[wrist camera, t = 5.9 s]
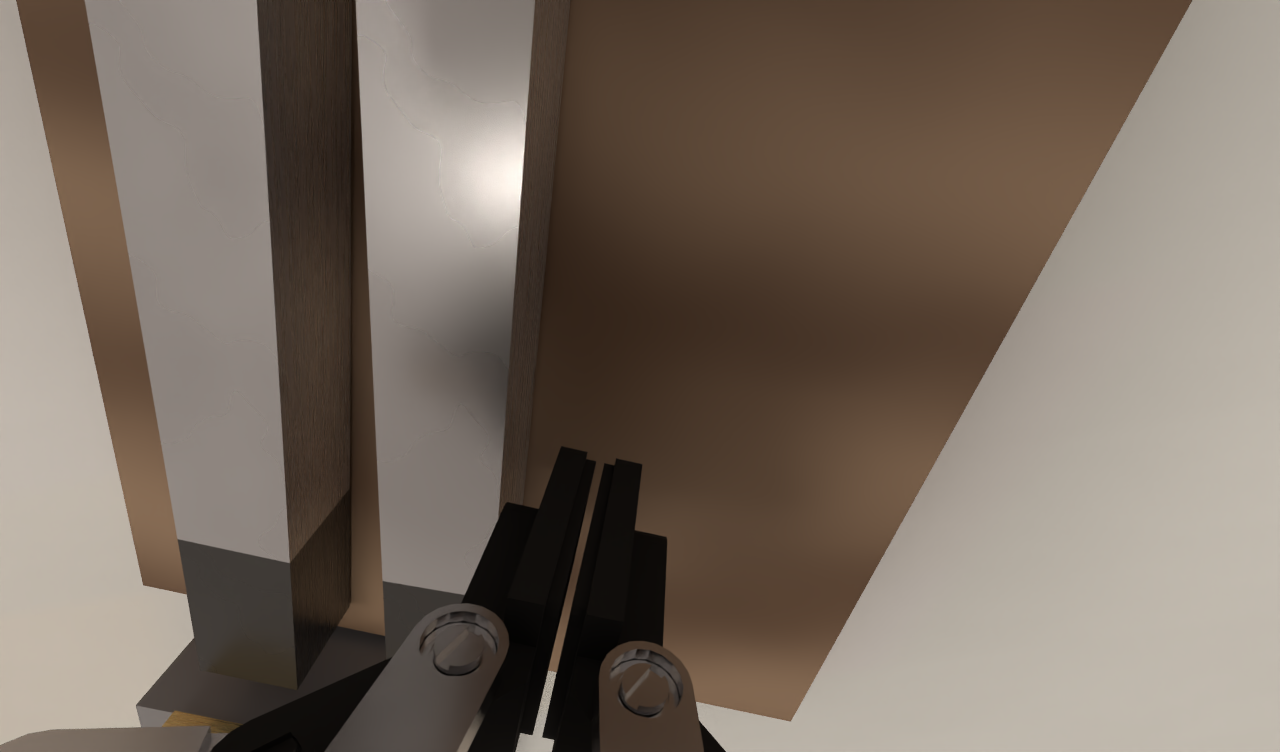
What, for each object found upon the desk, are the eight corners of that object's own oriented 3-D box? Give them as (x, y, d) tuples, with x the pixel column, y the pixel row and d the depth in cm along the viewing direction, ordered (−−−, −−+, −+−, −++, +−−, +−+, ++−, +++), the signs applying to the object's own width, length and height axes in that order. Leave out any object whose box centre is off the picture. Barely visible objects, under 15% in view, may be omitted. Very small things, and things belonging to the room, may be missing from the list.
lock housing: (243, 580, 17) (135, 705, 14) (517, 638, 18) (478, 774, 14) (258, 716, 20) (172, 846, 17) (493, 764, 21) (455, 901, 17)
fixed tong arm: (170, -519, 7) (-49, -769, 5) (354, -465, 7) (217, -688, 5) (266, 588, 16) (200, 670, 14) (349, 606, 16) (297, 690, 14)
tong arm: (215, -1111, 6) (-217, -2202, 3) (665, -1014, 6) (648, -1997, 3) (352, 608, 16) (285, 717, 13) (510, 635, 16) (475, 749, 13)
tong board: (-142, -1164, 6) (-282, -1371, 5) (1481, -629, 7) (1599, -732, 6) (171, 558, 17) (143, 585, 16) (785, 688, 18) (790, 721, 17)
